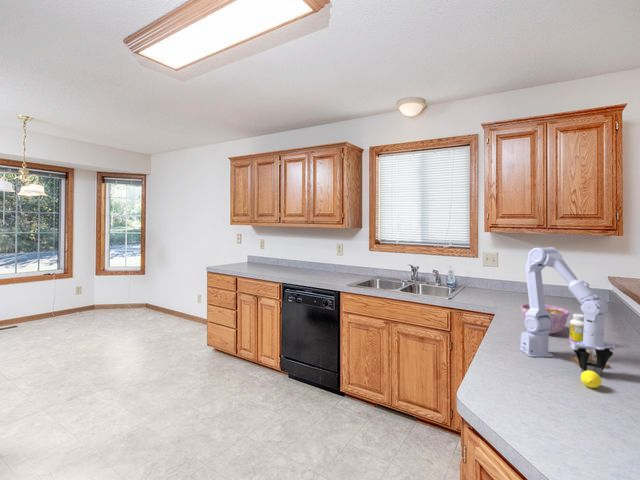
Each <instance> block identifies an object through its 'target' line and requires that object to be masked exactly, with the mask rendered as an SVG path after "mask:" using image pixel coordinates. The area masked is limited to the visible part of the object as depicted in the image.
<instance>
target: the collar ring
mask: <svg viewBox="0 0 640 480" xmlns="http://www.w3.org/2000/svg"><path fill="white" fill-rule="evenodd" d="M580 370H581V373H583V372H584V371H587V370H589V371H594V372H596V373H597V374H598V375H599V376H600V377H601V376H602V375H603V370H602V366H601V365H599V364H597V363H594V362H589V361H588V362H587V369H586V370H583V369H582V368H580Z"/></svg>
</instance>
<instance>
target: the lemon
mask: <svg viewBox="0 0 640 480" xmlns="http://www.w3.org/2000/svg"><path fill="white" fill-rule="evenodd" d="M580 380H581V382H582V384H583V385H584V386H586V387H588V388H589V389H597V388H599V387H600V386H601V385H602V378H601V376H599V375H598V374H597V373H596V372H594V371H589V370H587V371H584V372H581V374H580Z"/></svg>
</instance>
